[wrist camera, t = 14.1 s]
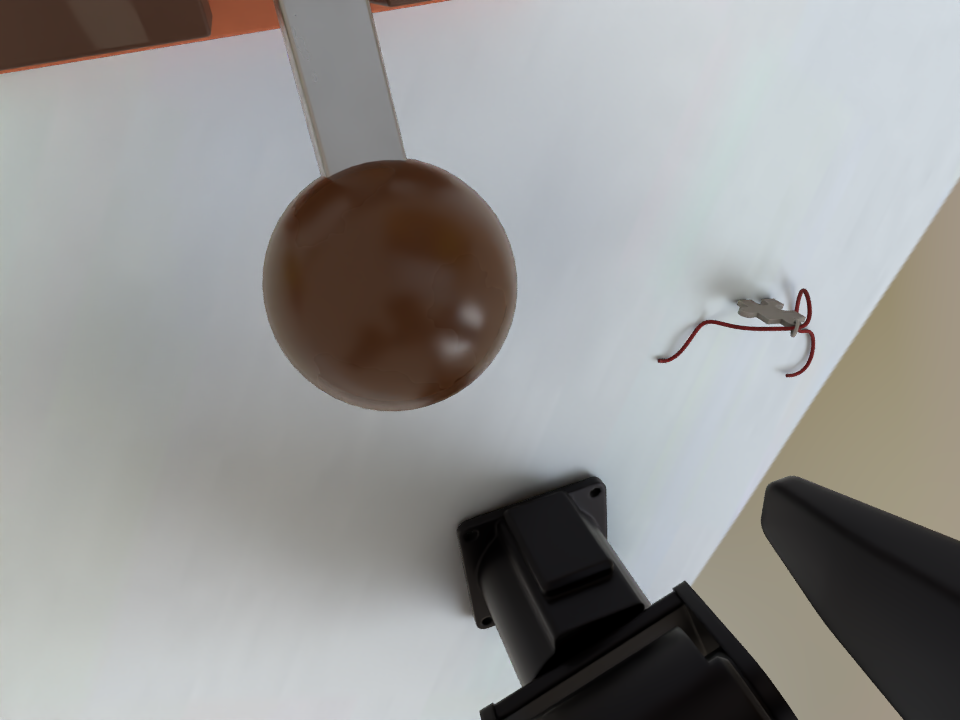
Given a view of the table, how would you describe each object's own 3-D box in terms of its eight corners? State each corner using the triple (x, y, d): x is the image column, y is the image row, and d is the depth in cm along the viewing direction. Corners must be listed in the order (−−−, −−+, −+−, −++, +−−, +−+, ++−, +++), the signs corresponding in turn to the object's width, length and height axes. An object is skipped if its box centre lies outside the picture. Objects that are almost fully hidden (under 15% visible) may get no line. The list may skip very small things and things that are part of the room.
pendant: (840, 279, 27) (895, 306, 25) (803, 372, 29) (851, 404, 27) (676, 284, 24) (722, 315, 22) (649, 386, 26) (688, 424, 24)
